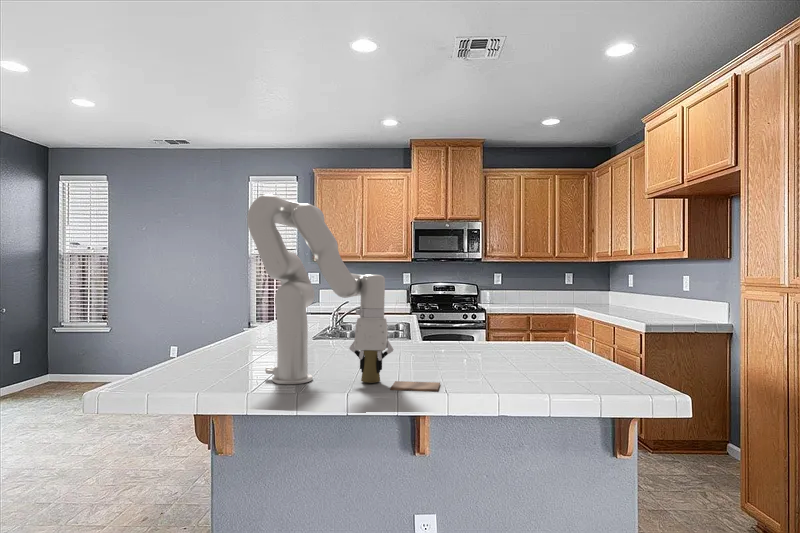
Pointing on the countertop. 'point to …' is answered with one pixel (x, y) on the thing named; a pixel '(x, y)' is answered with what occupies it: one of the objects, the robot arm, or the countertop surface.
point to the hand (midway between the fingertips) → (370, 371)
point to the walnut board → (415, 386)
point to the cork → (370, 367)
